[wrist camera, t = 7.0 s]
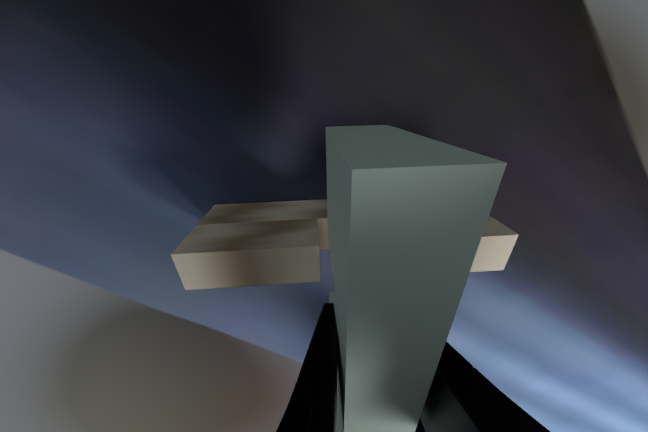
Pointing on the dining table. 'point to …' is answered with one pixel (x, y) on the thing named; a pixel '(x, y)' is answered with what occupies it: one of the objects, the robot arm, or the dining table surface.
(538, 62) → the dining table surface
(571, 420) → the dining table surface
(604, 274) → the dining table surface
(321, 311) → the robot arm
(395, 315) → the pale green slotted board
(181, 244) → the birch slotted board
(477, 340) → the dining table surface
